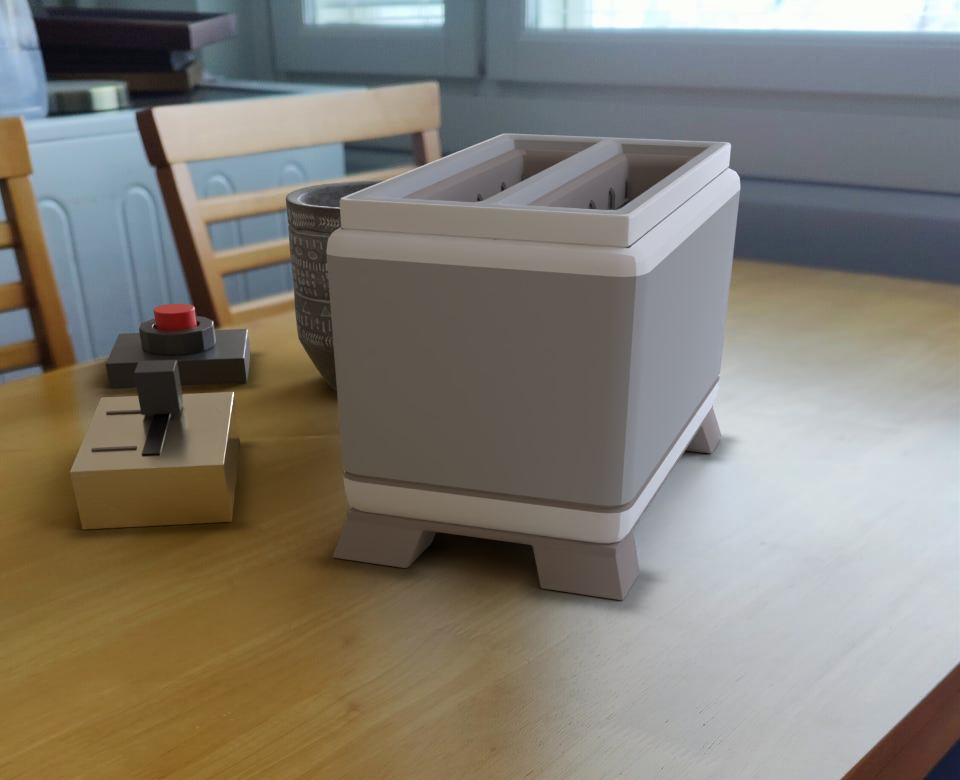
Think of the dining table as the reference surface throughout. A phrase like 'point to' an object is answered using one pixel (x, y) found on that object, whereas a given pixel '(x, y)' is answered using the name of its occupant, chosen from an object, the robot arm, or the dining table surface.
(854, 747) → the dining table surface
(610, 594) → the toaster
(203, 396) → the panel
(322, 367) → the planter
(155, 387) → the slider
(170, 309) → the button
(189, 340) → the button housing
